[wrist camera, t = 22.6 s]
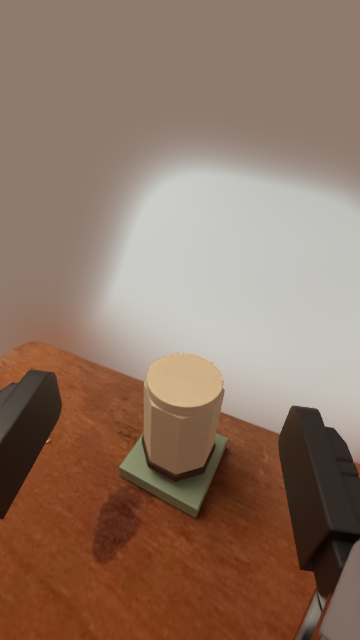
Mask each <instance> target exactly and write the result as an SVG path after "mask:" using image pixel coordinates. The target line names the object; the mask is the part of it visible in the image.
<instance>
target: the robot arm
mask: <svg viewBox="0 0 360 640" xmlns="http://www.w3.org/2000/svg"><path fill="white" fill-rule="evenodd" d="M61 407H62V403H61V397H60V393H59V388H58V383H57V378H56V375H55V373H53V372H47V371H39V370H30V371H28V372H27V373H26V374H25V376H24V377H23V378H22V380H21V381H20V382H19V383H18V384H17V383H11V384H10V385H8V386H7V387H5V388H4V389H2V390H1V391H0V519H4V517H5V515H6V513H7V511H8V510H9V508H10V506H11V504H12V502H13V501H14V499H15V497H16V495H17V493H18V491H19V490H20V488H21V486H22V484H23V482H24V481H25V479H26V477H27V475H28V473H29V472H30V470H31V468H32V466H33V464H34V463H35V461H36V459H37V457H38V455H39V454H40V452H41V450H42V448H43V446H44V445H45V443H46V441H47V439H48V437H49V436H50V434H51V432H52V430H53V428H54V426H55V425H56V423H57V421H58V419H59V416H60V413H61ZM279 456H280V461H281V467H282V472H283V478H284V483H285V489H286V494H287V500H288V505H289V511H290V516H291V522H292V527H293V533H294V538H295V544H296V549H297V555H298V560H299V566H300V570H306V571H312V572H314V575H315V580H316V584H317V587H316V588H315V590H314V592H313V595H312V597H311V599H310V602H309V604H308V606H307V608H306V611H305V613H304V615H303V617H302V620H301V622H300V624H299V626H298V629H297V631H296V633H295V636H294V638H293V640H360V478H359V477H358V475H359V474H358V471H357V469H356V466H355V464H353V459H352V457H351V454H350V452H349V449H348V447H347V444H346V442H345V441H344V440H343V439H342V438H341V436H340V435H339V434H338V433H337V431H336V430H335V429H334V428H330V427H325V426H324V423H323V420H322V417H321V415H320V412H319V411H318V409H315V408H308V407H300V406H292V407H291V408H290V411H289V413H288V416H287V418H286V421H285V423H284V426H283V428H282V431H281V433H280V437H279Z"/></svg>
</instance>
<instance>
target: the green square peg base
mask: <svg viewBox="0 0 360 640" xmlns="http://www.w3.org/2000/svg"><path fill="white" fill-rule="evenodd" d="M143 435H144V433H143ZM143 435H142V436H143ZM142 436H141V437H140V439H139V440H138V441H137V443H136V444H135V446H134V447H133V448H132V450H131V451H130V453H129V454H128V455H127V457H126V458H125V460H124V461H123V462H122V464H121V465H120V467H119V471H120V476H121V477H123V478H125V479H127V480H128V481H130V482H132V483H134V484H135V485H137V486H139V487H141V488H143V489H144V490H146V491H148V492H150V493H151V494H153V495H155V496H157V497H158V498H160V499H162V500H164V501H166V502H167V503H169V504H171V505H173V506H174V507H176V508H178V509H180V510H181V511H183V512H185V513H187V514H189V515H190V516H192V517H194V518H196V517H197V515H198V512H199V510H200V508H201V505H202V503H203V500H204V498H205V496H206V493H207V491H208V488H209V486H210V484H211V481H212V479H213V476H214V474H215V472H216V469H217V467H218V464H219V462H220V460H221V457H222V455H223V453H224V450H225V448H226V444H227V440H228V438H226V437H224V436H222V435H220V434H217V433H216V435H215V440H214V442H215V445H216V446H215V450H214V453H213V455H212V457H211V459H210V462H209V464H208V466H207V468H206V470H205V473H203V474H200V475H197V476H193V477H190V478H186V479H183V480H180V481H176V482H175V481H173V480H171V479H169V478H167V477H165V476H163V475H162V474H160V473H158V472H156V471H154V470H152V469H150V468H149V467H148V465H147V461H146V457H145V453H144V449H143V446H142Z"/></svg>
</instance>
